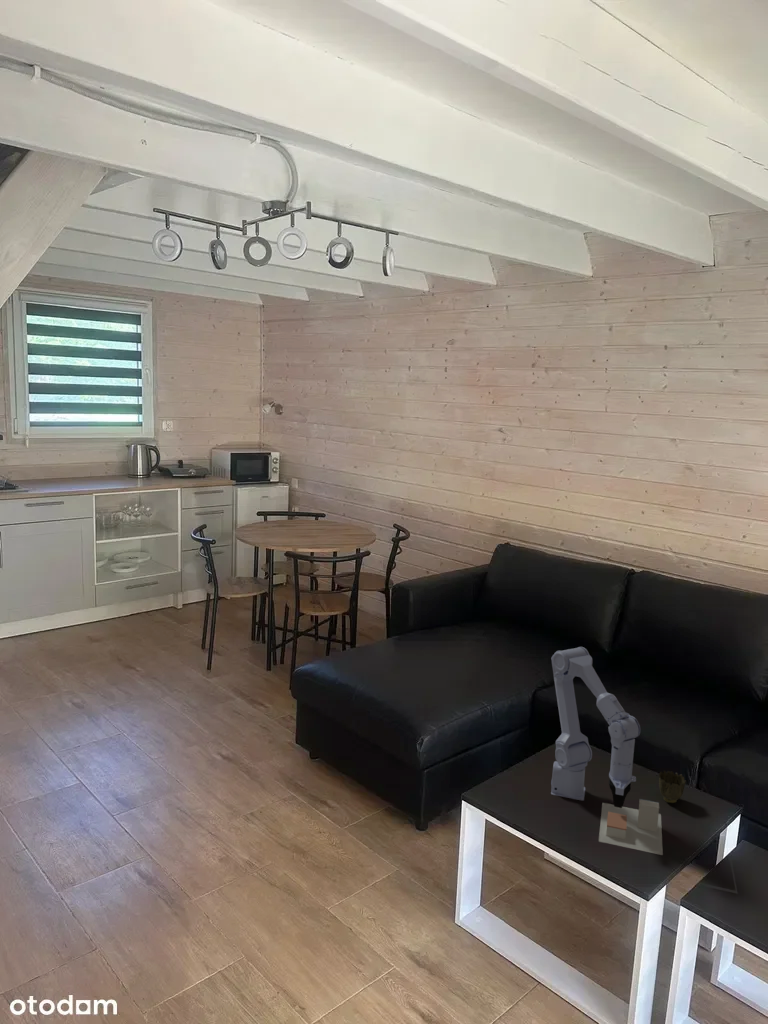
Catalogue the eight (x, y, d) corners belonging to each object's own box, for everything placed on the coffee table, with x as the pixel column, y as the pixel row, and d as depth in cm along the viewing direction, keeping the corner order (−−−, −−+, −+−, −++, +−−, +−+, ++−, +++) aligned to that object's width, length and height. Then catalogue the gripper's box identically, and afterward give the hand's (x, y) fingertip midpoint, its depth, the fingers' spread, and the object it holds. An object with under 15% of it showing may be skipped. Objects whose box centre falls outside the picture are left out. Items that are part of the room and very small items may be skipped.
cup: (685, 810, 209) (688, 784, 208) (658, 807, 210) (661, 781, 209) (680, 796, 216) (683, 772, 215) (654, 793, 218) (657, 768, 216)
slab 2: (637, 827, 199) (639, 804, 198) (637, 821, 202) (639, 798, 201) (656, 831, 197) (659, 808, 196) (656, 825, 200) (658, 802, 199)
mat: (598, 843, 192) (598, 841, 192) (602, 804, 211) (602, 802, 211) (662, 857, 187) (662, 855, 187) (660, 816, 206) (660, 814, 206)
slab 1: (607, 821, 201) (606, 835, 195) (608, 811, 201) (606, 825, 194) (626, 825, 200) (625, 839, 193) (626, 815, 199) (626, 829, 193)
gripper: (637, 775, 190) (633, 823, 192) (637, 751, 203) (633, 795, 205) (609, 770, 192) (605, 817, 194) (611, 746, 205) (607, 790, 208)
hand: (618, 806), depth 200 cm, fingers closed
